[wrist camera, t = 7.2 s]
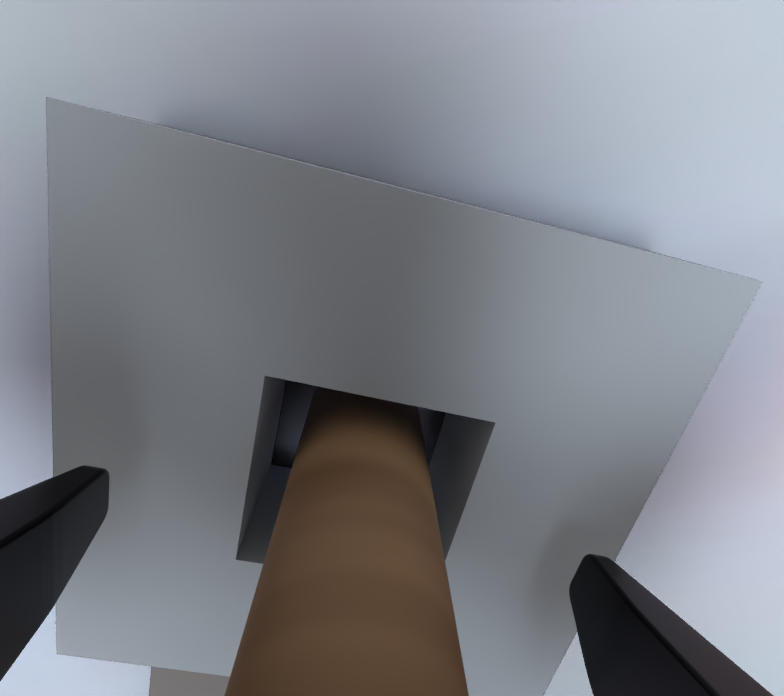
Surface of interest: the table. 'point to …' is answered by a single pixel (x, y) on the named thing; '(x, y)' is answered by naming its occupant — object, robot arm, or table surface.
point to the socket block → (347, 382)
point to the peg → (353, 566)
